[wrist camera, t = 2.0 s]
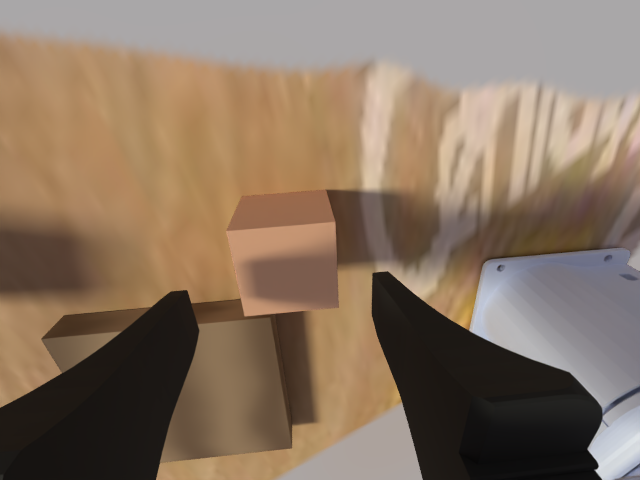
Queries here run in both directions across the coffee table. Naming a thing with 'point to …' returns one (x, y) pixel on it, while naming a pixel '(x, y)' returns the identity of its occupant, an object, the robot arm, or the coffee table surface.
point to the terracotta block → (285, 252)
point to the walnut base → (205, 378)
